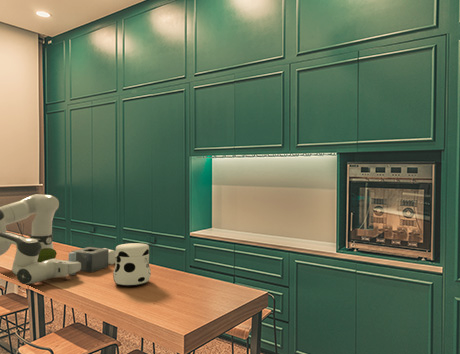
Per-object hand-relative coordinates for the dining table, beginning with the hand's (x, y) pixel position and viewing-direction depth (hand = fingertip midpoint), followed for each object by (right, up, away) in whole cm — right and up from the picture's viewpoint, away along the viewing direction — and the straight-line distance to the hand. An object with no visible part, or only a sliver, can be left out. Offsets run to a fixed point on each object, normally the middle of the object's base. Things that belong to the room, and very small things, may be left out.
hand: (73, 262), depth 189 cm
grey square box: (+4, -6, +11) cm, 14 cm away
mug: (+11, -6, +26) cm, 29 cm away
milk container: (+35, -7, -15) cm, 39 cm away
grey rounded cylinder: (0, -6, -1) cm, 6 cm away
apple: (-23, -6, +16) cm, 29 cm away
